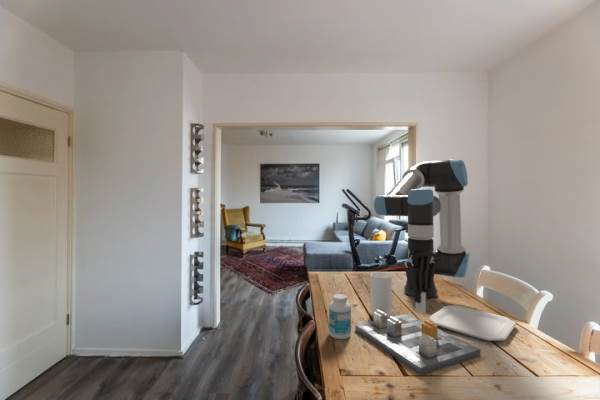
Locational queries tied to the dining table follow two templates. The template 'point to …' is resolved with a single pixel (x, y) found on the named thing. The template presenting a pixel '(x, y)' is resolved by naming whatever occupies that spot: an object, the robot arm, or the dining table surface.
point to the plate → (473, 323)
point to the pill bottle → (340, 317)
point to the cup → (381, 293)
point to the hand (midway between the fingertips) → (420, 311)
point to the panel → (415, 343)
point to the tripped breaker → (429, 329)
